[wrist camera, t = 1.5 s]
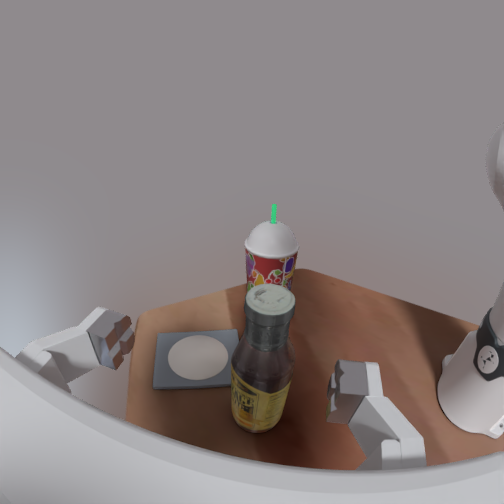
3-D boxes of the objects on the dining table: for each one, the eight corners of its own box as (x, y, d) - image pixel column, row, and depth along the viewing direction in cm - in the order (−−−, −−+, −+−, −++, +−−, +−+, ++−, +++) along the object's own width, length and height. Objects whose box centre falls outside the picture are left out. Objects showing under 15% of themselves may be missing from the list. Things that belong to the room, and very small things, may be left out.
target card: (236, 331, 47) (236, 328, 46) (246, 384, 37) (246, 381, 37) (158, 335, 45) (157, 332, 44) (153, 389, 35) (152, 386, 35)
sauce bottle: (226, 403, 34) (218, 278, 25) (270, 391, 36) (285, 267, 27) (241, 443, 29) (242, 328, 19) (290, 429, 31) (321, 309, 21)
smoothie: (299, 316, 50) (314, 208, 41) (262, 335, 46) (270, 219, 37) (270, 293, 56) (277, 193, 47) (234, 308, 52) (234, 201, 43)
